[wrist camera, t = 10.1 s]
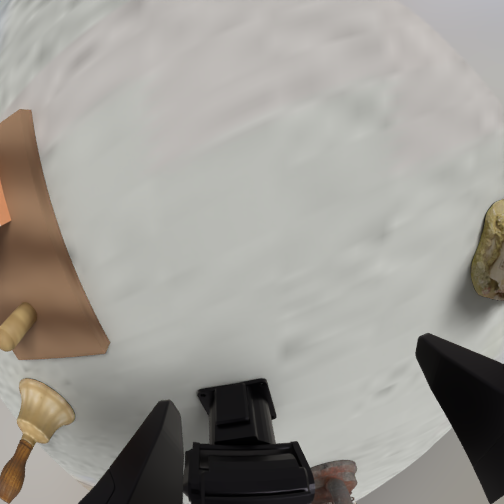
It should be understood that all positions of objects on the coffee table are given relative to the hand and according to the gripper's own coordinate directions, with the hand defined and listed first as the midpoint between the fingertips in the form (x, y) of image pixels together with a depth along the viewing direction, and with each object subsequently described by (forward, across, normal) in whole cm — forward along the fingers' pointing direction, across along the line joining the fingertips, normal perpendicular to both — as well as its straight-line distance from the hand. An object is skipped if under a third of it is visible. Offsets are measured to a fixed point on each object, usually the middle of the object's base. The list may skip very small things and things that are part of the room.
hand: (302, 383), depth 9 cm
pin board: (+12, +20, -5) cm, 24 cm away
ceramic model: (+12, -27, +7) cm, 31 cm away
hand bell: (+12, +29, +13) cm, 34 cm away
